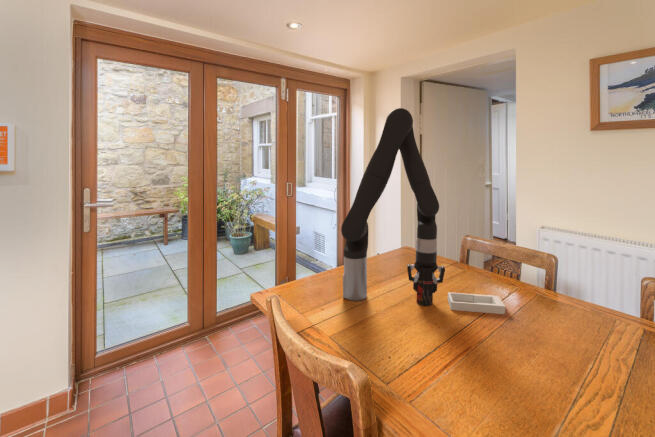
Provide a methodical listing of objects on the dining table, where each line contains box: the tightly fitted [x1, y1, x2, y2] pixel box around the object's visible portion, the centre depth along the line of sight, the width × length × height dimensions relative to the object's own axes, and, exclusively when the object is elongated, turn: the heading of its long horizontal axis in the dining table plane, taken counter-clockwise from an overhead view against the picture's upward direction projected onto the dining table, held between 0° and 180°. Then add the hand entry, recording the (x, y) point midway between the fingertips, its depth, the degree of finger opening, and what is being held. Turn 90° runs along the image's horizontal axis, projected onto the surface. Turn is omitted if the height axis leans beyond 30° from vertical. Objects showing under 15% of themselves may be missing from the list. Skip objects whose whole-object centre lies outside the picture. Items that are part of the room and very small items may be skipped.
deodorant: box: [415, 266, 435, 307], centre depth 121 cm, size 6×6×15 cm
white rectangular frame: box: [447, 291, 506, 315], centre depth 118 cm, size 18×9×3 cm, turn 77°
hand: (424, 291), depth 122 cm, fingers closed on deodorant, 6 cm apart
